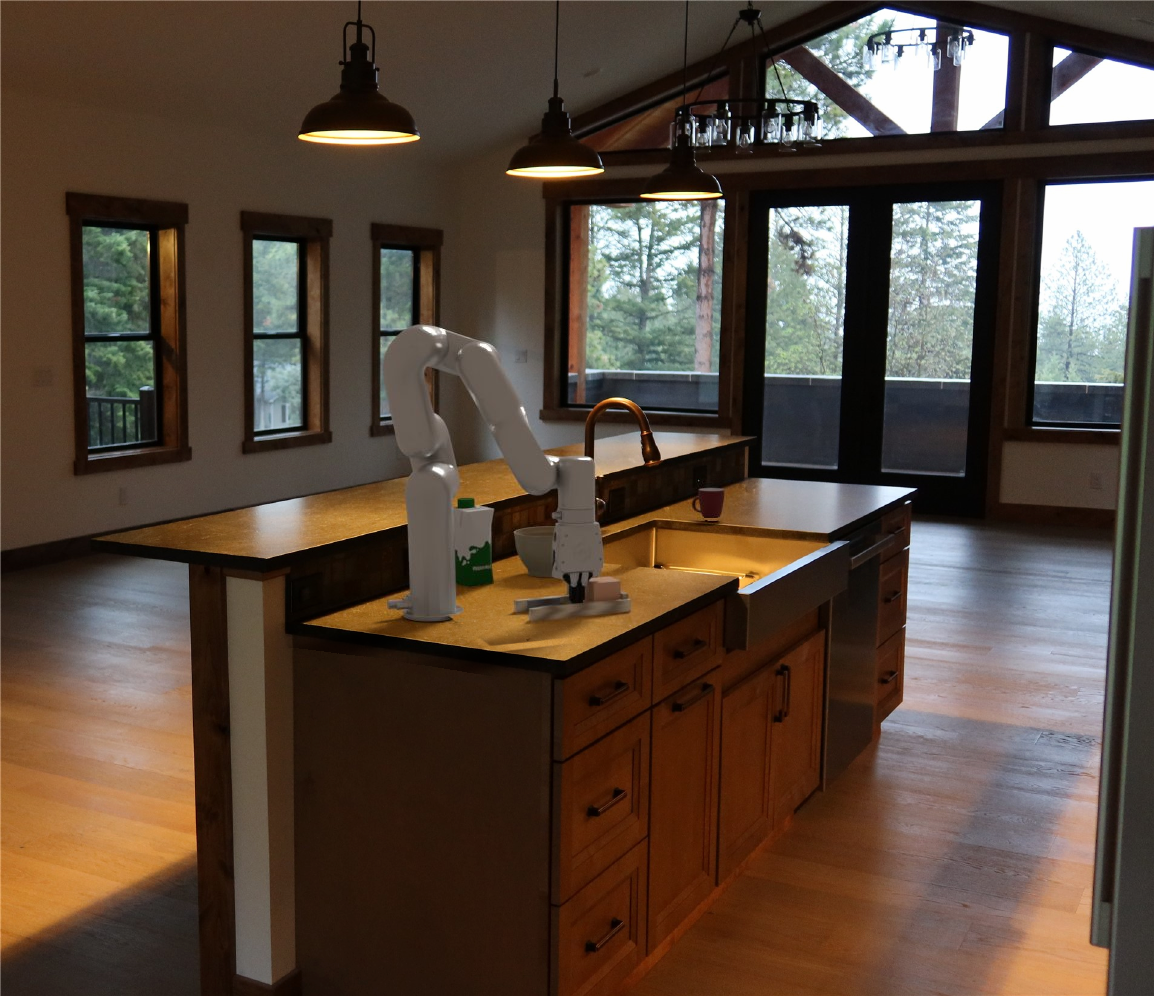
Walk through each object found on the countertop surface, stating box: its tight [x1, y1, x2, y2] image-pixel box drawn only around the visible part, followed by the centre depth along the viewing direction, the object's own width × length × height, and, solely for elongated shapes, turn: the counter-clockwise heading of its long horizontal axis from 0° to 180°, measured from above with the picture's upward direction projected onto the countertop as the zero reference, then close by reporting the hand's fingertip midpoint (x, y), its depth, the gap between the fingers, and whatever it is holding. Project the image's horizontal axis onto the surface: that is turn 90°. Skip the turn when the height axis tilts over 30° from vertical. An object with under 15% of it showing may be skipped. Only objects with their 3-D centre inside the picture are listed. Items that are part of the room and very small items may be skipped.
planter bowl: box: [513, 525, 555, 578], centre depth 296 cm, size 16×16×11 cm
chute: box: [513, 590, 632, 622], centre depth 250 cm, size 22×10×4 cm, turn 113°
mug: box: [691, 487, 725, 519], centre depth 382 cm, size 11×8×10 cm
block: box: [584, 575, 622, 603], centre depth 253 cm, size 6×5×6 cm
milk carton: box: [453, 497, 495, 588], centre depth 285 cm, size 9×9×20 cm
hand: (576, 604), depth 251 cm, fingers closed
